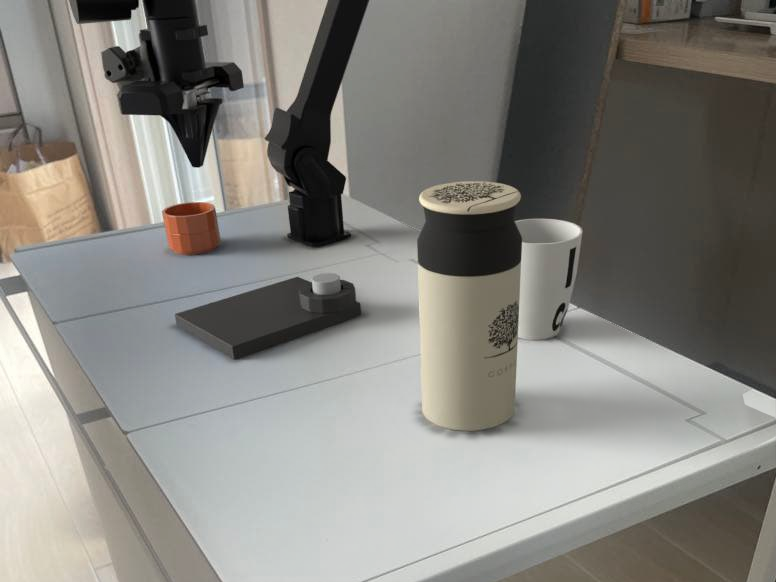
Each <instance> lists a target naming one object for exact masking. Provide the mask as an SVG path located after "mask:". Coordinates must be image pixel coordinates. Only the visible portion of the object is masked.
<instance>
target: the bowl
mask: <svg viewBox="0 0 776 582" xmlns="http://www.w3.org/2000/svg"><path fill="white" fill-rule="evenodd" d="M161 214H162V219H163V224H164V229H165V235H166V240H167V244H168V247H169V248H168V249H169V250H172V251H173V253H176V254H179V255H183V256H194V255H201V254H206V253H210V252H212V251H214V250H216V249H217V248H218V246H219V245H220V244H221V242H222V240H221V234H220V227H219V221H218V216H217V215H218V214H217V209H216V207H215V205H214V204H213V203H210V202H204V201H190V202H189V201H188V202H181V203H177V204H172V205H170V206H167V207H165V208H164V209H163V210H161Z"/></svg>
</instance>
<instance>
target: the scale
mask: <svg viewBox="0 0 776 582" xmlns="http://www.w3.org/2000/svg"><path fill="white" fill-rule="evenodd" d="M340 283H341V292H338V293H335V294H329V295H318V294H314V293H313V286H312V281H309V280H307V279H304V278H302V277H299V276H295V277H292V278H288V279H285V280H282V281H279V282H276V283H272V284H268V285H266V286H261V287H258V288H256V289H252V290H249V291H246V292H242V293H239V294H236V295H233V296H229V297H226V298H222V299H219V300H216V301H212V302H210V303H206V304H202V305H200V306H197V307H196V306H195V307H193V308H190V309H187V310H183V311H180V312H176V313H174V319H175V324H176V327H177V328H179V329H181V330H183V331H185V332H186V333H188V334H189V335H191V336H193V337H195V338H196V339H198V340H200V341H202V342H203V343H204V344H207V345H208V346H210V347H212V348H214V349H215V350H217V351H219V352H221V353H222V354H224V355H226V356H228V357H229V358H231V359H232V360H237V359H240V358H244V357H246V356H248V355H252V354H254V353H257V352H260V351H263V350H266V349H268V348H271V347H275V346H277V345H280V344H282V343H286V342H289V341H292V340H295V339H297V338H301V337H303V336H306V335H308V334H311V333H315V332H317V331H321V330H324V329H326V328H329V327H332V326H335V325H337V324H340V323H344V322H346V321H349V320H352V319H355V318H358V317H360V316H362V306H361V302H359V301H357V296H356V287H355V284H354V283H353V282H350V281H348V280H346V279H340Z"/></svg>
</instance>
